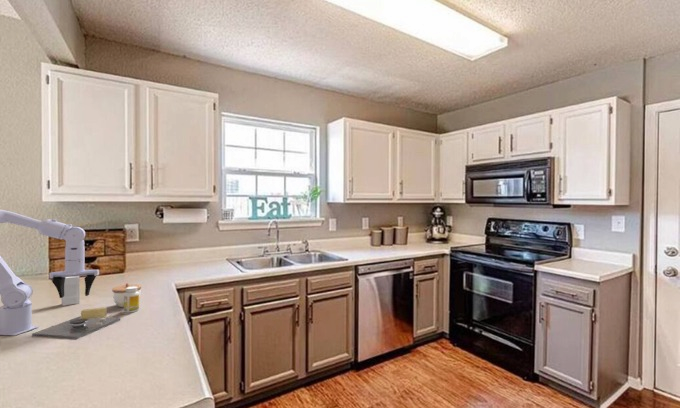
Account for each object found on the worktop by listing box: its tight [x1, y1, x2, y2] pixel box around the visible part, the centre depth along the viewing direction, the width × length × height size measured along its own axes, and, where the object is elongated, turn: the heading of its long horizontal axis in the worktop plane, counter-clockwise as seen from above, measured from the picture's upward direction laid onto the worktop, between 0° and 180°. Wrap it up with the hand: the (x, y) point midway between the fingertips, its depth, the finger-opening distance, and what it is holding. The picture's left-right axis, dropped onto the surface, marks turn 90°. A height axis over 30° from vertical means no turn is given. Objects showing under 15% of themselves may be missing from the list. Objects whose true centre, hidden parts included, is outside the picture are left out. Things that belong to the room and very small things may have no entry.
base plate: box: [31, 315, 121, 340], centre depth 120 cm, size 17×18×2 cm
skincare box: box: [61, 276, 81, 307], centre depth 149 cm, size 6×4×12 cm
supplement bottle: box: [123, 287, 140, 314], centre depth 139 cm, size 5×5×10 cm
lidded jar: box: [111, 283, 142, 308], centre depth 147 cm, size 11×11×9 cm
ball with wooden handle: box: [69, 306, 108, 324], centre depth 121 cm, size 11×5×4 cm, turn 114°
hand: (74, 296), depth 125 cm, fingers open, 7 cm apart
